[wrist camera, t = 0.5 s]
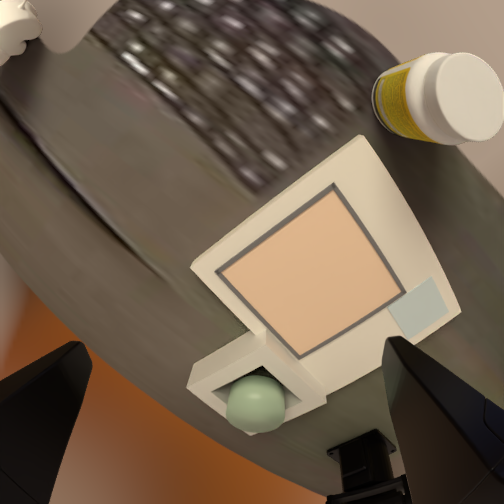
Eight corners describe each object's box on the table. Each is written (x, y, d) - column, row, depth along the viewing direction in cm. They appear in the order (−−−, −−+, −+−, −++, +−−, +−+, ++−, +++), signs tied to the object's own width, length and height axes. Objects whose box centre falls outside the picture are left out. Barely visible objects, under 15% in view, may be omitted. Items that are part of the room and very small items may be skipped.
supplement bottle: (404, 151, 19) (472, 174, 11) (355, 98, 18) (405, 85, 10) (447, 107, 17) (525, 109, 9) (401, 53, 16) (467, 24, 8)
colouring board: (455, 304, 23) (462, 313, 21) (319, 388, 27) (321, 399, 26) (358, 134, 19) (364, 135, 17) (194, 260, 23) (189, 268, 22)
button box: (323, 377, 26) (326, 402, 24) (252, 412, 29) (250, 435, 26) (267, 319, 24) (265, 344, 22) (193, 363, 27) (186, 387, 24)
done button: (295, 397, 24) (296, 420, 22) (253, 416, 25) (251, 438, 23) (261, 367, 23) (259, 390, 21) (218, 389, 24) (213, 411, 22)
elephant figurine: (-11, 44, 16) (-57, 42, 11) (47, -18, 14) (2, -35, 9) (6, 95, 18) (-44, 99, 13) (69, 30, 17) (19, 16, 11)
